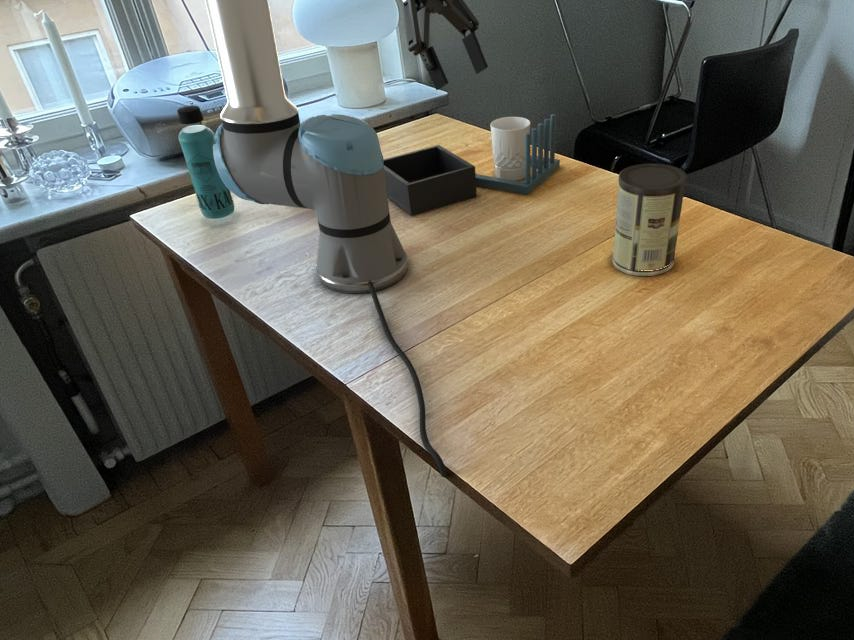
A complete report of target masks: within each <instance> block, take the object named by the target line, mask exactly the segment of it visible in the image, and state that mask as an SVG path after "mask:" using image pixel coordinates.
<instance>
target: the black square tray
mask: <svg viewBox="0 0 854 640" xmlns="http://www.w3.org/2000/svg"><path fill="white" fill-rule="evenodd" d="M383 159H384V163H383V167H384V174H385V182H386V190H387V197H388V200H389V201H391V202H392V203H393V204H394V205H396V206H397V207H398V208H400V209H401V210H403V212H405V213H407V214H408V215H409V216H410V217H413V216H416V215H420V214H422V213H426V212H430V211H432V210H436V209H439V208H443V207H447V206H450V205H454V204H457V203H461V202H463V201H467V200H470V199H473V198H477V186H476V176H475V174H476V166H475V165H474V164H472V163H470V162H469V161H467V160H465V159H464V158H462V157H460V156H459V155H457V154H455V153H454V152H451V151H450V150H449V149H447V148H445V147H443V146H441V144H436V145H433V146H429V147H425V148H421V149H418V150H413V151H410V152H405V153H402V154H398V155H394V156H391V157H386V158H383Z"/></svg>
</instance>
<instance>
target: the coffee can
mask: <svg viewBox="0 0 854 640" xmlns="http://www.w3.org/2000/svg"><path fill="white" fill-rule="evenodd" d="M687 181H688V176H687V173H686V172H685V171H684V170H682V169H681V168H679V167H677V166H674V165H670V164H664V163H651V162H650V163H639V164H634V165H630V166H628V167H626V168H623V169H622V170H621V171H620V172H619V174H618V189H617V190H618V191H617V201H616V202H617V203H616V216H615V225H614V226H615V229H614V237H613V238H614V240H613V252H612V258H611V263H612V265H613V267H614V268H616V269H617V270H618V271H620V272H622V273H624V274H626V275H631V276H635V277H654V276H659V275H661V274H664V273H667V272H669V271H670V270H671V269H672V268H673V267H674V265H675V254H676V248H677V242H678V234H679V227H680V221H681V214H682V207H683V200H684V195H685V194H684V193H685V188H686V184H687ZM615 261H616V262H615ZM672 261H673V262H672ZM671 262H672V263H671ZM670 263H671V264H670ZM669 264H670V265H669ZM667 265H669V266H667ZM665 266H667V267H665ZM664 267H665V268H664ZM628 268H629V269H628ZM660 268H662V269H660ZM656 269H659V270H656ZM638 270H639V271H638ZM641 270H643V271H641ZM644 270H653V271H644Z"/></svg>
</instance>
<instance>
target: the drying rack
mask: <svg viewBox="0 0 854 640" xmlns="http://www.w3.org/2000/svg"><path fill="white" fill-rule="evenodd" d="M543 121H544V123H541V122H540V123H538V126H537V127H534V128H531V132H530V133H526V134H525V178H524V179H525V180H524V181H521V180H518V181H514V180H508V179H502V178H496V176H490V175H485V174H479V173H475V176H476V187H481V188H486V189H493V190H497V191H503V192H510V193H515V194H520V195H525V196H528V195H529V194H531V193H532V192H533V191H534V190H535V189H536V188H538V187H539V186H540V185H541V184H542V183H544V182H545V181H546V180H547V179H548V178H549V177H551V175H553V174H554V173H555V172H557V170H559V169H560V166H561V165H560V163H561V159H557V158H555V157H556V156H555V155H556V121H557V120H556V114H555V113H552V114H550V118H544V120H543Z"/></svg>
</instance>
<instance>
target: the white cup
mask: <svg viewBox="0 0 854 640" xmlns="http://www.w3.org/2000/svg"><path fill="white" fill-rule="evenodd" d="M531 123H532V122H531V121H530V120H529V119H528V118H526V117H522V116H504V117H500V118H496V119H494V120H492V121H491V122H490V125H489V126H490V137H491V150H492V159H493V164H494V165H493V166H494V167H493V168H494V177H496V178H502V179H508V180H514V181H522V180H524V179H525V134H526V133H530V134H531Z"/></svg>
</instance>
